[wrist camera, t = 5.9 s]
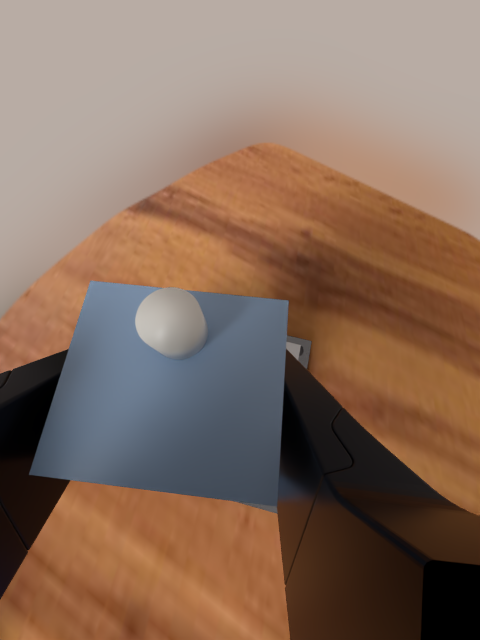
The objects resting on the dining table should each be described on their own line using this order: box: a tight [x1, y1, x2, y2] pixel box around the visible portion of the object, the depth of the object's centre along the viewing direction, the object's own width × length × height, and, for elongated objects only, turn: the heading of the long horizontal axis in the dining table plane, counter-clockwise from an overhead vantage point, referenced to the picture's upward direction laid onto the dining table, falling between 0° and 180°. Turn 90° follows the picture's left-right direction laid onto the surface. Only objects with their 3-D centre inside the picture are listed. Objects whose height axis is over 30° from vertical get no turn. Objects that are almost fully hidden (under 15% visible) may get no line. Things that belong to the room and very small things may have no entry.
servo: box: [29, 281, 289, 506], centre depth 10 cm, size 6×5×11 cm
